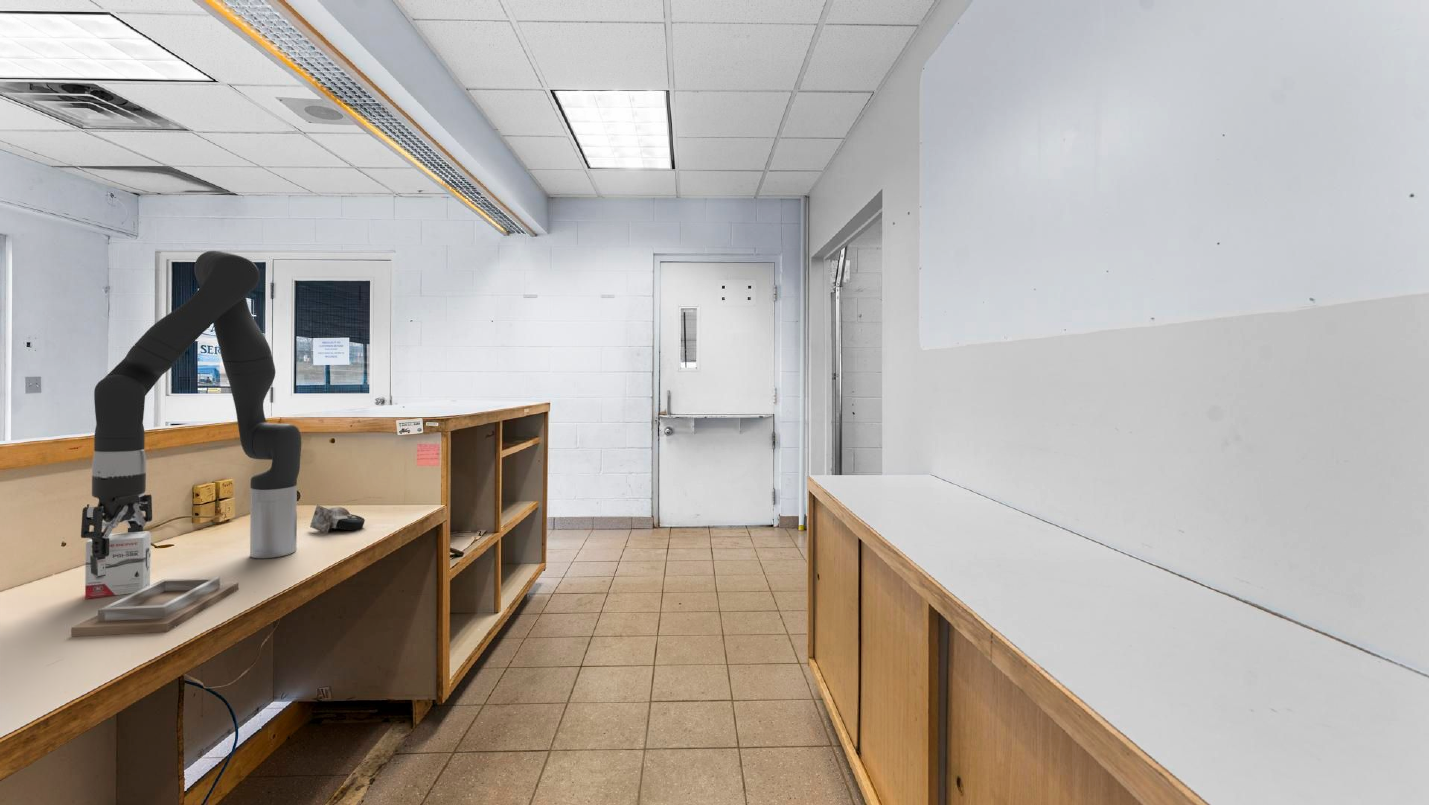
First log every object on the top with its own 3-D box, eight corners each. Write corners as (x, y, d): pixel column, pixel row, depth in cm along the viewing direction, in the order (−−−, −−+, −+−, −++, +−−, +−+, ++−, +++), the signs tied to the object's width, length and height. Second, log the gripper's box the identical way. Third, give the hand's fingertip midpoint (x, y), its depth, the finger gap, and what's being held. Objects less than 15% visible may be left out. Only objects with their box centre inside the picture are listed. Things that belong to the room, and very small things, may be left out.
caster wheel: (366, 535, 168) (337, 539, 158) (338, 524, 170) (307, 527, 161) (373, 514, 168) (345, 516, 158) (344, 503, 171) (315, 504, 161)
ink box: (83, 600, 110) (82, 541, 109) (93, 591, 114) (92, 535, 113) (144, 592, 115) (143, 536, 114) (151, 584, 119) (151, 530, 118)
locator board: (160, 592, 115) (160, 575, 115) (238, 589, 118) (238, 573, 118) (71, 636, 95) (71, 616, 95) (167, 631, 98) (167, 612, 98)
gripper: (125, 467, 119) (124, 542, 119) (65, 477, 105) (64, 562, 105) (167, 467, 121) (165, 541, 121) (113, 477, 107) (112, 561, 107)
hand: (118, 550), depth 113 cm, fingers open, 8 cm apart
